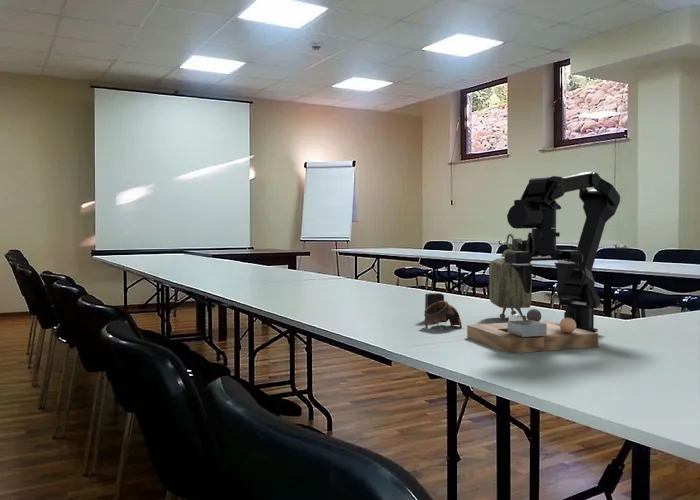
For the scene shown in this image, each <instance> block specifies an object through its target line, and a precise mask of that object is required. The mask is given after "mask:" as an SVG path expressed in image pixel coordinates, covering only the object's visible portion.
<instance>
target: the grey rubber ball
mask: <svg viewBox="0 0 700 500" xmlns="http://www.w3.org/2000/svg"><path fill="white" fill-rule="evenodd" d="M541 319H542V313H541V311H540V310H539V309H536V308H531V309H528V311H527V313H526V320H533V321H537V322H539V321H542V320H541Z"/></svg>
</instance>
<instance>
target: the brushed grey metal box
mask: <svg viewBox="0 0 700 500" xmlns="http://www.w3.org/2000/svg"><path fill="white" fill-rule="evenodd" d="M507 323H508V333H511V334H514V335H517V336H521V337H530V336H545V335H547V324H545V323H541V322H537V321H533V320H528V319H526V320H521V321H507Z"/></svg>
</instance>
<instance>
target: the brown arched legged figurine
mask: <svg viewBox="0 0 700 500" xmlns="http://www.w3.org/2000/svg"><path fill="white" fill-rule="evenodd" d="M433 310H435V312H436V313H434V314H429V313H430V312H432V311H433ZM423 316H424V325H425V328H426V329H428V325H434V324H436V323H447V322H449V324H450V326H451V327H452V326H459V329H462V328H463V326H462V320H461V317H460V313H459V312H458V310H457V308H456V307H454V306H453V305H452V304H449V302H448V301H446V300H444V301H439V302H436V303H434V304H432V305H430V306H429V307H428V308H427V309H426V310H424V314H423Z"/></svg>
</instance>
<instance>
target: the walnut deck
mask: <svg viewBox="0 0 700 500" xmlns="http://www.w3.org/2000/svg"><path fill="white" fill-rule="evenodd" d="M539 322H541V323H545V324H547V335H545V336H530V337H521V336H517V335H514V334H511V333H508V322H497V323H495V322H494V323H477V324H467V325H466V326H467V327H466V337H467V338H468V339H471V340H474V341H477V342H478V343H482V344H484V345H487V346H490V347H492V348H494V349H496V350H497V349H498V350H500V351H503V352H506V353H508V354H519V353H520V354H521V353H530V352H531V353H532V352H533V353H535V352H544V351H545V352H547V351H548V350H549V351H559V349H562V350H572V349H573V350H575V349H574V348H576V349H586V348H587V349H589V348H599V333H598V332H595V331H586V330H582V329H578V328H576V329H575V330H574V331H573V332H572V333H565V332H563V331H562V330H561V329H560V323H558V322H553V321H550V320H540V321H539ZM549 351H548V352H549Z"/></svg>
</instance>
